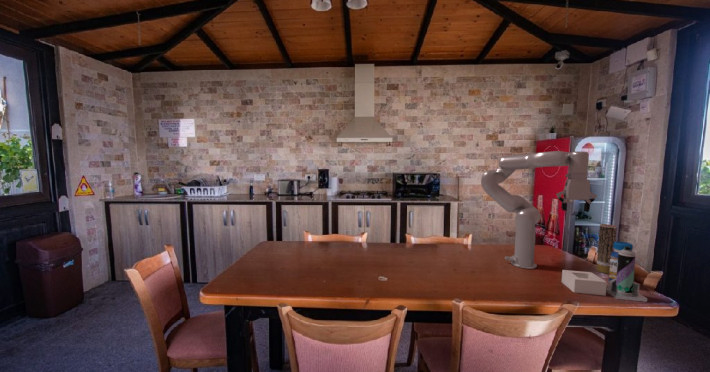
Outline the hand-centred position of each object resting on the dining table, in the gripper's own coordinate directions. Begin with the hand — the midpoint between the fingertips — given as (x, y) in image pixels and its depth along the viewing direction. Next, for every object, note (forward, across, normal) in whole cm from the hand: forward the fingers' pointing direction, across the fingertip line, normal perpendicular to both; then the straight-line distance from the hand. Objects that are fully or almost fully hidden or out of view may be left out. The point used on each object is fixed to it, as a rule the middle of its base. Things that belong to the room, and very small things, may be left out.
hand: (575, 211), depth 148 cm
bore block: (+33, -2, -16) cm, 37 cm away
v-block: (+33, +12, -20) cm, 41 cm away
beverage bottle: (+34, +18, -6) cm, 38 cm away
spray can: (+32, +12, -20) cm, 39 cm away
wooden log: (+34, +21, +12) cm, 41 cm away
